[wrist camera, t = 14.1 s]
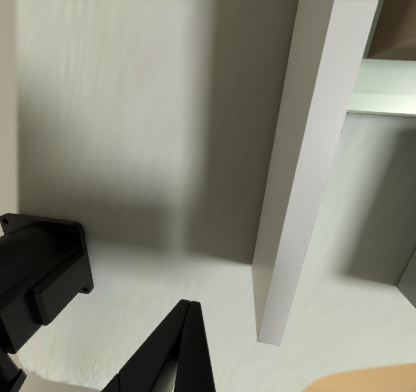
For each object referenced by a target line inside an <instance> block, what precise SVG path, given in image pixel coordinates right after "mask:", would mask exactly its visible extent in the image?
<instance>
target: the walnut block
mask: <svg viewBox="0 0 416 392" xmlns="http://www.w3.org/2000/svg"><path fill="white" fill-rule="evenodd" d="M367 59H378V60H401V61H416V0H384V2H383V6H382V9H381V12H380V16H379V19H378V22H377V26H376V29H375V32H374V36H373V39H372V42H371V46H370V49H369V52H368V56H367Z"/></svg>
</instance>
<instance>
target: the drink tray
mask: <svg viewBox="0 0 416 392" xmlns="http://www.w3.org/2000/svg"><path fill="white" fill-rule="evenodd" d="M383 2H384V0H299V2H298V7H297V13H296V19H295V24H294V30H293V36H292V41H291V47H290V53H289V58H288V64H287V70H286V76H285V81H284V87H283V93H282V98H281V104H280V110H279V115H278V121H277V127H276V132H275V138H274V144H273V150H272V155H271V161H270V167H269V172H268V178H267V184H266V189H265V195H264V201H263V206H262V212H261V218H260V224H259V229H258V235H257V241H256V246H255V252H254V258H253V263H252V278H253V291H254V304H255V317H256V331H257V342H261V343H266V344H271V345H277V346H280V342H281V339H282V335H283V332H284V328H285V325H286V321H287V318H288V314H289V311H290V307H291V304H292V300H293V297H294V293H295V290H296V287H297V283H298V280H299V276H300V273H301V269H302V266H303V262H304V259H305V255H306V252H307V248H308V245H309V241H310V238H311V234H312V231H313V227H314V224H315V220H316V217H317V213H318V210H319V206H320V203H321V199H322V196H323V192H324V189H325V185H326V182H327V178H328V175H329V172H330V168H331V165H332V161H333V158H334V154H335V151H336V147H337V144H338V140H339V137H340V133H341V130H342V126H343V123H344V119H345V116H346V113H357V114H373V115H389V116H405V117H416V61H401V60H378V59H367V56H368V52H369V49H370V46H371V42H372V39H373V36H374V32H375V29H376V26H377V22H378V19H379V16H380V12H381V9H382V6H383Z"/></svg>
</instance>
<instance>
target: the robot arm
mask: <svg viewBox="0 0 416 392" xmlns="http://www.w3.org/2000/svg"><path fill="white" fill-rule="evenodd" d="M0 223H1V226H2V229H3V232H4V235H3V236H1V237H0V392H18V391H19V390H20V388H21V386H22V384H23V383H24V380H25V379H26V377H27V375H26V374H25V372H24V371H23V370H22V369H19V368H18V367H17V366H16V364H15V363H14V362H13V361H12V359H11V358H10V357H9V355H8V354H7V353H10V354H16V353H17V352H18V350H19V349H20V348H21V347H22V346H23V345H24V344H25V343H26V342H27V341H28V340H29V339H30V338H31V337H32V336H33V335H34V333H35V332H36V331H37V330H38V329H39V328H40V327H41V326H42V325H43V326H47V325H48V324H50V323H51V322H52V321H53V320H54V319H55V318H56V316H57V315H58V314H59V313H60V312H61V311H62V310H63V309H64V308H65V307H66V305H67V304H68V303H69V302H70V301H71V300H72V299H73V298H74V297H75V296H76V295H77V293H84V294H89V293H90V292H91V291H92V290H93V288H94V285H93V280H92V274H91V269H90V263H89V258H88V252H87V247H86V241H85V236H84V230H83V227H82V226H81V224H79V223H77V222H71V221H64V220H56V219H49V218H42V217H34V216H27V215H19V214H12V213H7V214H4V215H2V216H0ZM174 383H175V387H174V392H216V389H215V384H214V378H213V372H212V366H211V361H210V355H209V349H208V344H207V338H206V332H205V326H204V321H203V315H202V309H201V304H200V302H197V301H191V302H190V301H189V300H185V299H181V300H180V301H179V302H178V303H177V305H176V306H175V307H174V308H173V309H172V310H171V311H170V313H169V314H168V315H167V316H166V317H165V318H164V320H163V321H162V322H161V323H160V324H159V325H158V327H157V328H156V329H155V330H154V331H153V332H152V334H151V335H150V336H149V337H148V338H147V339H146V340H145V342H144V343H143V344H142V345H141V346H140V347H139V349H138V350H137V351H136V352H135V353H134V354H133V356H132V357H131V358H130V359H129V360H128V361H127V363H126V364H125V365H124V366H123V367H122V368H121V369H120V371H119V374H118V373H117V374H116V375H115V376H114V377H113V379H112V380H111V381H110V382H109V383H108V384H107V386H106V387H105V388H104V389H103V390H102V391H101V392H172V390H173V386H174Z"/></svg>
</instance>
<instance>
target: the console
mask: <svg viewBox="0 0 416 392" xmlns="http://www.w3.org/2000/svg"><path fill="white" fill-rule="evenodd" d="M396 287H397V288H398V289H399V290H400V292H401V293H402V294H403V295H404V296H405V297H406V298H407V299H408V300H409V301H410V303H411V304H412V305H413V306H414V307H415V308H416V250H415V252H414V253H413V255H412V257H411V259H410V261H409V263H408V265H407V267H406V269H405V271H404V273H403V275H402V277H401V279H400V281H399V282H398V284H397V286H396Z"/></svg>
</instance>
